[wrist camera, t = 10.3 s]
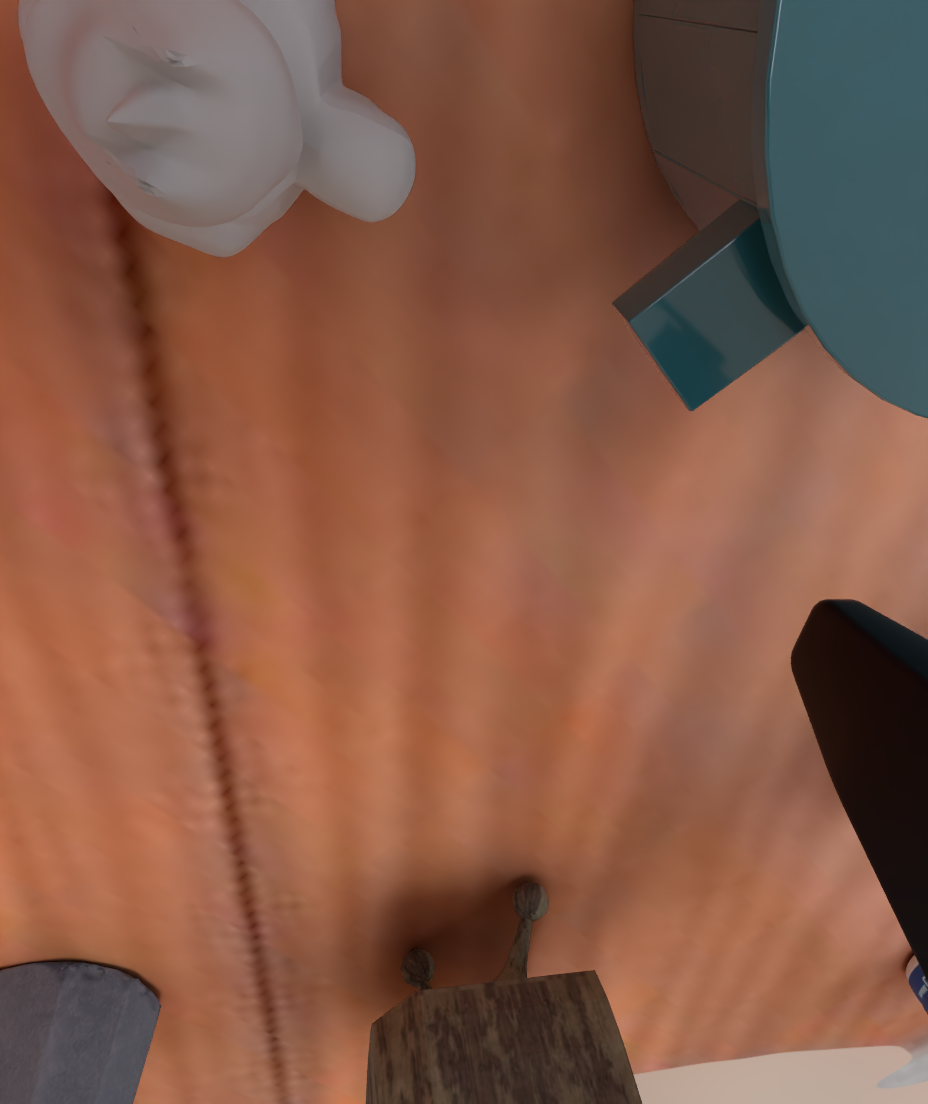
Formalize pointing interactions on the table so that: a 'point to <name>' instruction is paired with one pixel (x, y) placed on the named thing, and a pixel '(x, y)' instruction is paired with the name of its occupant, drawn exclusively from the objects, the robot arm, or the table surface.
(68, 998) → the moka pot
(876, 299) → the pot lid
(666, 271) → the pot
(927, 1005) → the beverage bottle
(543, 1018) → the tabletop clock
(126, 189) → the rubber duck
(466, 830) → the table surface
